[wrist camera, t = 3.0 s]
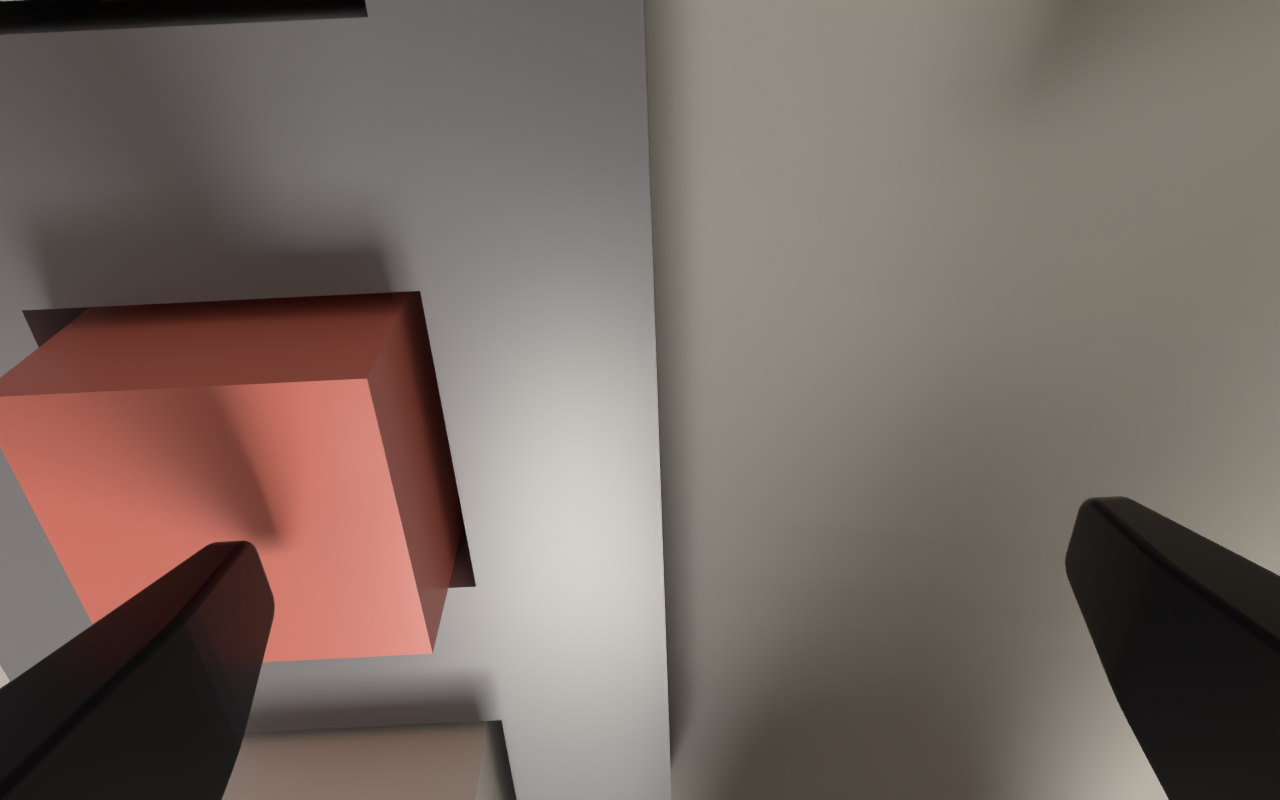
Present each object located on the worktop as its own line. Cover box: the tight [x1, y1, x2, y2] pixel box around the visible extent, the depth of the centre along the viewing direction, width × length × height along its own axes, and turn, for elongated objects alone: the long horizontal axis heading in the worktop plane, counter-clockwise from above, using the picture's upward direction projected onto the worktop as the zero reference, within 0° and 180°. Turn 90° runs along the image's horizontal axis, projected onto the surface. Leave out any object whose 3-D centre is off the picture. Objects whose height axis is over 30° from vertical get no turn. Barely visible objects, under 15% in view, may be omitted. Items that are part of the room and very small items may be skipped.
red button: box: [0, 291, 464, 662], centre depth 11 cm, size 4×4×3 cm
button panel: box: [0, 0, 672, 800], centre depth 12 cm, size 24×10×4 cm, turn 2°
